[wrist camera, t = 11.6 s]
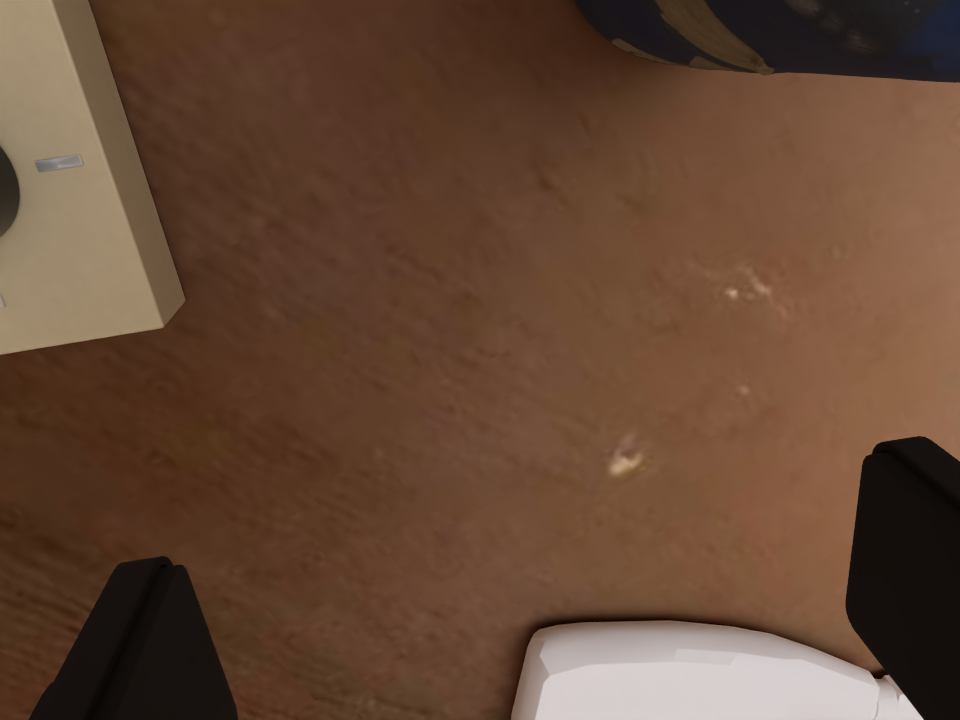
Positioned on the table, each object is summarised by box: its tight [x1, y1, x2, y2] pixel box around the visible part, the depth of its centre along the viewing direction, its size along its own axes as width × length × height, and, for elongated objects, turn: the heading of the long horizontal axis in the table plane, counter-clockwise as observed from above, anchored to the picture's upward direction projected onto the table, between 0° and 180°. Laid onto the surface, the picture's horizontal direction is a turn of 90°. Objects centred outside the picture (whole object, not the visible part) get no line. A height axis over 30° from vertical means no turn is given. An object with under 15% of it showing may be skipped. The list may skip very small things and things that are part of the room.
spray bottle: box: [511, 620, 924, 720], centre depth 39 cm, size 3×11×24 cm
